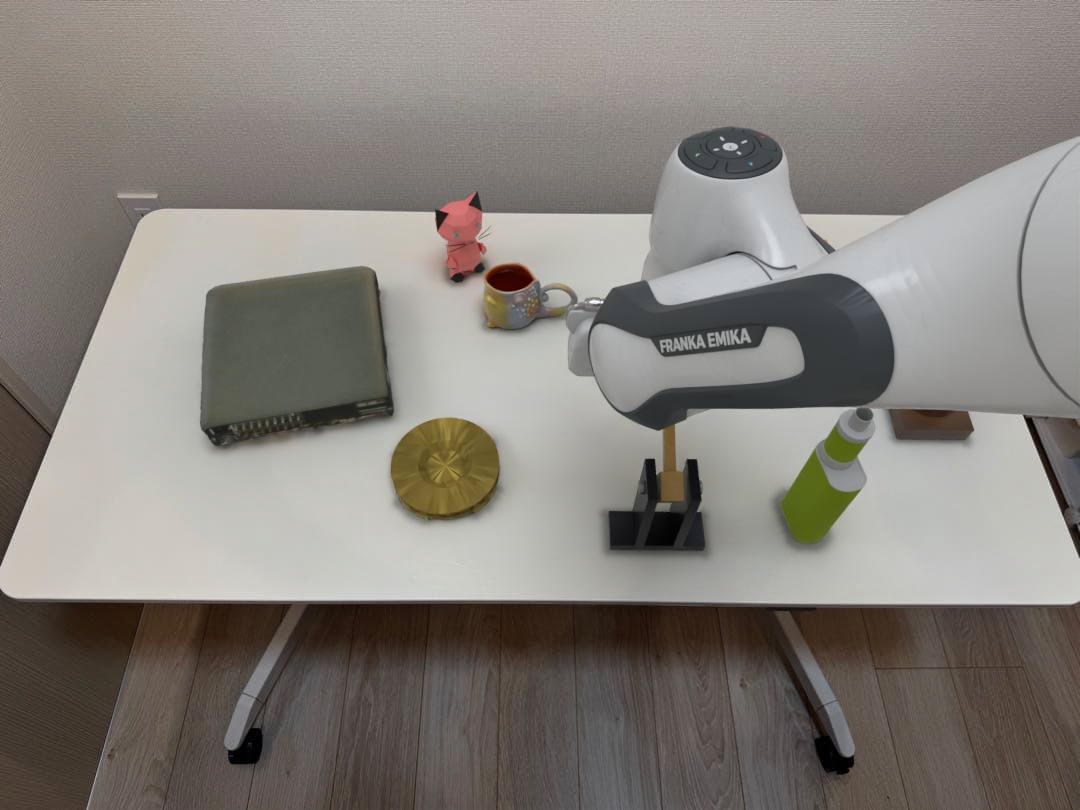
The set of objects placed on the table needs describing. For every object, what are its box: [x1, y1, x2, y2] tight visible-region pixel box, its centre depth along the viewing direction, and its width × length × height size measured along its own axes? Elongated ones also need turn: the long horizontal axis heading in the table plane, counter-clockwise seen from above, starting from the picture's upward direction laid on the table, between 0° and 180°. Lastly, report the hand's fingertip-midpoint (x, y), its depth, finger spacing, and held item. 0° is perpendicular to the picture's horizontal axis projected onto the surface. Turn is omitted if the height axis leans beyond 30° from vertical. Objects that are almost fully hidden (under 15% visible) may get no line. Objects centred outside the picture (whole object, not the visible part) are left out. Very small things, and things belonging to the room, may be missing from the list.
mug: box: [482, 262, 579, 330], centre depth 96 cm, size 12×7×7 cm, turn 80°
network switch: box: [199, 265, 395, 447], centre depth 92 cm, size 23×23×5 cm
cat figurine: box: [434, 190, 491, 284], centre depth 98 cm, size 7×7×12 cm
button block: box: [888, 409, 975, 441], centre depth 90 cm, size 10×8×4 cm
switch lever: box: [656, 424, 684, 504], centre depth 74 cm, size 12×5×2 cm, turn 0°
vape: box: [780, 408, 876, 545], centre depth 75 cm, size 4×6×20 cm, turn 11°
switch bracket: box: [607, 457, 706, 552], centre depth 77 cm, size 4×10×13 cm, turn 89°
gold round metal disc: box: [389, 417, 501, 521], centre depth 85 cm, size 12×12×2 cm
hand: (666, 391), depth 76 cm, fingers closed on switch lever, 5 cm apart
